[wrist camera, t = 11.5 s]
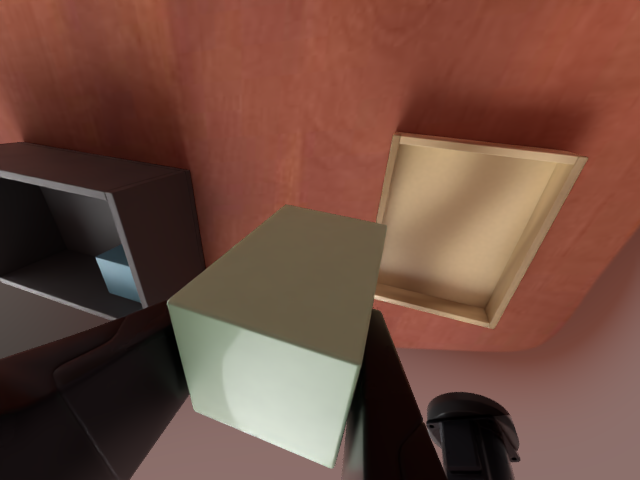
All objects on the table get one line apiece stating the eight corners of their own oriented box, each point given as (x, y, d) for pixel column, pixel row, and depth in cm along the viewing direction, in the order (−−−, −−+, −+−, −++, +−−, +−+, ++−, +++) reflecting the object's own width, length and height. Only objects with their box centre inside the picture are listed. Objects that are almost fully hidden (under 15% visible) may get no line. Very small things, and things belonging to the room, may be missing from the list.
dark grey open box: (189, 170, 21) (111, 193, 16) (209, 289, 27) (157, 336, 21) (22, 141, 26) (-85, 152, 20) (70, 249, 31) (-3, 281, 26)
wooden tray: (567, 150, 14) (589, 157, 12) (486, 309, 19) (494, 329, 17) (394, 131, 16) (393, 134, 14) (365, 280, 21) (361, 295, 19)
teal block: (151, 272, 21) (94, 256, 23) (161, 310, 23) (108, 293, 24) (187, 249, 25) (135, 236, 26) (193, 283, 27) (145, 270, 28)
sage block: (388, 224, 9) (361, 365, 4) (367, 307, 11) (334, 471, 6) (285, 203, 10) (163, 300, 5) (282, 283, 12) (192, 411, 7)
